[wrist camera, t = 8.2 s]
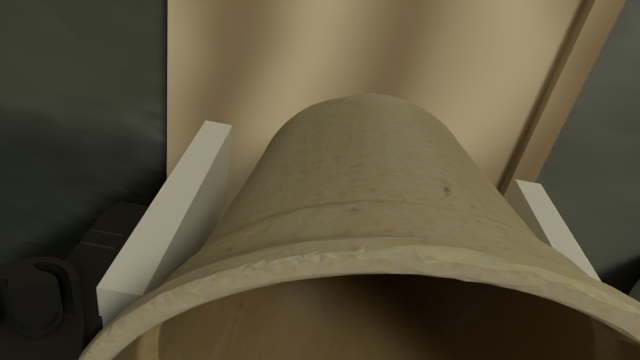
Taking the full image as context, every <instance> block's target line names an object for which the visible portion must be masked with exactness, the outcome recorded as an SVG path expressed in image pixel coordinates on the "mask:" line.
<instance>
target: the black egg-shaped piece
mask: <svg viewBox="0 0 640 360" xmlns="http://www.w3.org/2000/svg"><path fill="white" fill-rule="evenodd" d="M628 296H629V297H631V298H633V299H635V300H636V301H638V302H640V279H639V280H638V282H637V283H636V284H635V285H634V287H633V288H632V290H631V291H630V293H629V295H628Z"/></svg>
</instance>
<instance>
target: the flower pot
mask: <svg viewBox="0 0 640 360" xmlns="http://www.w3.org/2000/svg"><path fill="white" fill-rule="evenodd" d="M78 360H640V302H638V301H636V300H635V299H633V298H631V297H629V296H628V295H626V294H624V293H622V292H620V291H619V290H617V289H615V288H613V287H612V286H610V285H607V284H605V283H603V282H601V281H599V280H597V279H594V278H592V277H590V276H588V275H587V274H586V273H585V272H584V271H583V270H582V269H581V268H580V267H578V266H577V265H576V264H575V263H574V262H573V261H571V260H570V259H569V258H567V257H566V256H565V255H563V254H562V253H560V252H559V251H557V250H556V249H554V248H552V247H551V246H549V245H547V244H546V243H544V242H542V241H540V240H539V239H538V238H537V237H536V236H535V234H534V233H533V232H532V231H531V230H530V228H529V227H528V226H527V225H526V224H525V222H524V221H523V220H522V219H521V218H520V217H519V215H518V214H517V213H516V212H515V211H514V210H513V208H512V207H511V206H510V205H509V203H508V202H507V201H506V200H505V199H504V197H503V196H502V195H501V194H500V192H499V191H498V190H497V189H496V188H495V186H494V185H493V184H492V183H491V181H490V180H489V179H488V178H487V176H486V175H485V174H484V173H483V172H482V170H481V169H480V168H479V167H478V165H477V164H476V163H475V162H474V160H473V159H472V158H471V157H470V156H469V154H468V153H467V152H466V151H465V149H464V148H463V147H462V146H461V145H460V143H459V142H458V141H457V139H456V138H455V136H454V135H453V134H452V133H451V131H450V130H449V129H448V128H447V127H446V126H445V124H443V123H442V122H441V121H440V120H439V119H438V118H437V117H436V116H434V115H433V114H432V113H430V112H429V111H427V110H425V109H424V108H422V107H420V106H418V105H416V104H414V103H411V102H409V101H406V100H403V99H400V98H397V97H393V96H390V95H384V94H376V93H367V94H359V95H352V96H345V97H340V98H335V99H330V100H326V101H323V102H320V103H316V104H314V105H311V106H309V107H307V108H305V109H304V110H302V111H300V112H299V113H297V114H296V115H295V116H293V117H292V118H291V119H289V120H288V121H287V122H286V123H285V124H284V125H283V126H282V127H281V128H280V129H279V130H278V131H277V133H276V134H275V135H274V136H273V138H272V139H271V141H270V142H269V144H268V146H267V148H266V150H265V152H264V153H263V155H262V156H261V158H260V159H259V161H258V163H257V165H256V166H255V168H254V170H253V171H252V173H251V174H250V176H249V177H248V179H247V180H246V182H245V183H244V185H243V187H242V188H241V190H240V191H239V192H238V194H237V195H236V197H235V198H234V200H233V201H232V203H231V204H230V206H229V207H228V209H227V210H226V212H225V213H224V215H223V216H222V218H221V220H220V221H219V223H218V224H217V226H216V227H215V229H214V230H213V232H212V233H211V235H210V236H209V238H208V239H207V241H206V242H205V244H204V245H203V247H202V248H201V250H200V251H199V252H198V253H197V254H195V255H194V256H193V257H191V258H190V259H188V260H187V261H186V262H185V263H184V264H183V265H181V266H180V267H179V268H178V269H177V270H175V271H174V272H173V273H172V274H171V275H170V276H169V277H168V278H167V280H166V281H165V282H164V283H163V284H162V285H161V286H160V287H158V288H157V289H155V290H153V291H151V292H149V293H148V294H146V295H144V296H143V297H141V298H140V299H138V300H137V301H136V302H134V303H133V304H131V305H130V306H129V307H127V308H126V309H124V310H123V311H121V312H120V313H119V314H118V315H117V316H116V317H115V318H114V319H113V320H112V321H111V322H110V323H108V324H107V325H106V326H105V327H104V328H103V329H102V330H101V331H100V332H99V333H98V334H97V335H96V336H95V337H94V339H93V340H92V341H91V342H90V343H89V345H88V346H87V347H86V348H85V349H84V351H83V352H82V354H81V355H80V357H79V359H78Z"/></svg>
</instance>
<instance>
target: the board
mask: <svg viewBox="0 0 640 360" xmlns="http://www.w3.org/2000/svg"><path fill="white" fill-rule="evenodd" d="M625 2H626V0H168V59H167V179H168V177H169V176H170V174H171V173H172V171H173V170H174V168H175V167H176V165H177V164H178V162H179V161H180V159H181V158H182V156H183V154H184V153H185V151H186V150H187V148H188V147H189V145H190V144H191V142H192V141H193V139H194V138H195V136H196V135H197V133H198V132H199V130H200V129H201V127H202V125H203V124H204V122H205V121H206V120H207V121H212V122H217V123H222V124H228V125H232V135H231V147H230V158H229V170H228V182H227V194H226V203H225V206H224V208H223V210H222V213H221V215H220V218H219V220H218V222H217V224H218V223H219V221H220V220H221V218H222V216H223V215H224V213H225V212H226V210H227V209H228V207H229V206H230V204H231V203H232V201H233V200H234V198H235V197H236V195H237V194H238V192H239V191H240V190H241V188H242V187H243V185H244V183H245V182H246V180H247V179H248V177H249V176H250V174H251V173H252V171H253V170H254V168H255V166H256V165H257V163H258V161H259V159H260V158H261V156H262V155H263V153H264V152H265V150H266V148H267V146H268V144H269V142H270V141H271V139H272V138H273V136H274V135H275V134H276V133H277V131H278V130H279V129H280V128H281V127H282V126H283V125H284V124H285V123H286V122H287V121H288V120H289V119H291V118H292V117H293V116H295V115H296V114H297V113H299V112H300V111H302V110H304V109H305V108H307V107H309V106H311V105H314V104H316V103H320V102H323V101H326V100H330V99H335V98H340V97H345V96H352V95H359V94H367V93H376V94H384V95H390V96H393V97H397V98H400V99H403V100H406V101H409V102H411V103H414V104H416V105H418V106H420V107H422V108H424V109H425V110H427V111H429V112H430V113H432V114H433V115H434V116H436V117H437V118H438V119H439V120H440V121H441V122H442V123H443V124H445V126H446V127H447V128H448V129H449V130H450V131H451V133H452V134H453V135H454V136H455V138H456V139H457V141H458V142H459V143H460V145H461V146H462V147H463V148H464V149H465V151H466V152H467V153H468V154H469V156H470V157H471V158H472V159H473V160H474V162H475V163H476V164H477V165H478V167H479V168H480V169H481V170H482V172H483V173H484V174H485V175H486V176H487V178H488V179H489V180H490V181H491V183H492V184H493V185H494V186H495V188H496V189H497V190H498V191H499V192H500V194H501V195H502V196H503V197H504V199H505V200H506V198H507V196H508V194H509V191H510V189H511V187H512V185H513V183H514V181H515V179H517V180H522V181H527V182H532V183H535V181H536V179H537V177H538V175H539V173H540V171H541V169H542V167H543V165H544V163H545V161H546V159H547V157H548V155H549V153H550V151H551V149H552V147H553V145H554V143H555V141H556V139H557V137H558V135H559V133H560V131H561V129H562V127H563V125H564V123H565V121H566V119H567V117H568V115H569V113H570V111H571V109H572V107H573V105H574V103H575V101H576V99H577V97H578V95H579V93H580V91H581V89H582V87H583V85H584V83H585V81H586V79H587V77H588V75H589V73H590V71H591V69H592V67H593V65H594V63H595V61H596V59H597V57H598V55H599V53H600V51H601V49H602V47H603V45H604V43H605V41H606V39H607V37H608V35H609V33H610V31H611V29H612V27H613V25H614V23H615V21H616V19H617V17H618V15H619V13H620V11H621V9H622V7H623V5H624V3H625ZM216 226H217V225H216Z"/></svg>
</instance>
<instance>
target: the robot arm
mask: <svg viewBox="0 0 640 360" xmlns="http://www.w3.org/2000/svg"><path fill="white" fill-rule="evenodd" d="M231 135H232V125H228V124H222V123H217V122H212V121H207V120H206V121H205V122H204V124H203V125H202V127H201V129H200V130H199V132H198V133H197V135H196V136H195V138H194V139H193V141H192V142H191V144H190V145H189V147H188V148H187V150H186V151H185V153H184V154H183V156H182V158H181V159H180V161H179V162H178V164H177V165H176V167H175V168H174V170H173V171H172V173H171V174H170V176H169V177H168V179H167V180H166V182H165V183H164V185H163V187H162V188H161V190H160V191H159V193H158V194H157V196H156V197H155V199H154V200H153V202H152V203H151V205H150V206H144V205H139V204H133V203H128V202H122V201H121V202H120V203H118V204H116V205H115V206H113V207H111V208H110V209H108V210H106V211H105V212H103V213H102V214H101V215H100V217H99V218H98V219H97V220H96V222H95V223H94V224H93V226H92V227H91V229H90V231H88V232H87V233H86V234H85V236H84V237H83V238H82V239H81V243H80V244H78V245H77V246H76V247H75V248H74V250H73V251H72V252H71V253H70V255H69V256H68V257H67V259H66V260H65V261H64V260H61V259H58V258H54V257H33V258H29V259H24V260H19V261H17V262H14V263H12V264H10V265H8V266H6V267H3V268H1V269H0V360H78V359H79V357H80V355H81V354H82V352H83V351H84V349H85V348H86V347H87V346H88V345H89V343H90V342H91V341H92V340H93V339H94V337H95V336H96V335H97V334H98V333H99V332H100V331H101V330H102V329H103V328H104V327H105V326H106V325H107V324H108V323H110V322H111V321H112V320H113V319H114V318H115V317H116V316H117V315H118V314H119V313H120V312H121V311H123V310H124V309H126V308H127V307H129V306H130V305H131V304H133V303H134V302H136V301H137V300H138V299H140V298H141V297H143V296H144V295H146V294H148V293H149V292H151V291H153V290H155V289H157V288H158V287H160V286H161V285H162V284H163V283H164V282H165V281H166V280H167V278H168V277H169V276H170V275H171V274H172V273H173V272H174V271H175V270H177V269H178V268H179V267H180V266H181V265H183V264H184V263H185V262H186V261H187V260H188V259H190V258H191V257H193V256H194V255H195V254H197V253H198V252H199V251H200V250H201V248H202V247H203V245H204V244H205V242H206V241H207V239H208V238H209V236H210V235H211V233H212V232H213V230H214V229H215V227H216V225H217V222H218V220H219V218H220V215H221V213H222V210H223V208H224V206H225V203H226V194H227V182H228V170H229V158H230V147H231ZM506 201H507V202H508V203H509V205H510V206H511V207H512V208H513V210H514V211H515V212H516V213H517V214H518V215H519V217H520V218H521V219H522V220H523V221H524V222H525V224H526V225H527V226H528V227H529V228H530V230H531V231H532V232H533V233H534V234H535V236H536V237H537V238H538V239H539V240H540V241H542V242H544V243H546V244H547V245H549V246H551V247H552V248H554V249H556V250H557V251H559V252H560V253H562V254H563V255H565V256H566V257H567V258H569V259H570V260H571V261H573V262H574V263H575V264H576V265H577V266H578V267H580V268H581V269H582V270H583V271H584V272H585V273H586V274H587V275H588V276H590V277H592V278H594V279H597V280H599V281H601V280H600V279H599V277H598V275H597V274H596V272H595V271H594V269H593V267H592V266H591V264H590V263H589V261H588V259H587V258H586V256H585V255H584V253H583V251H582V250H581V248H580V247H579V245H578V243H577V242H576V240H575V239H574V237H573V235H572V234H571V232H570V231H569V229H568V227H567V226H566V224H565V223H564V221H563V219H562V218H561V216H560V215H559V213H558V211H557V210H556V208H555V206H554V205H553V203H552V202H551V200H550V198H549V197H548V195H547V194H546V192H545V190H544V189H543V187H542V186H541V184H538V183H532V182H527V181H522V180H517V179H515V181H514V183H513V185H512V187H511V189H510V191H509V194H508V196H507V198H506Z"/></svg>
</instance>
